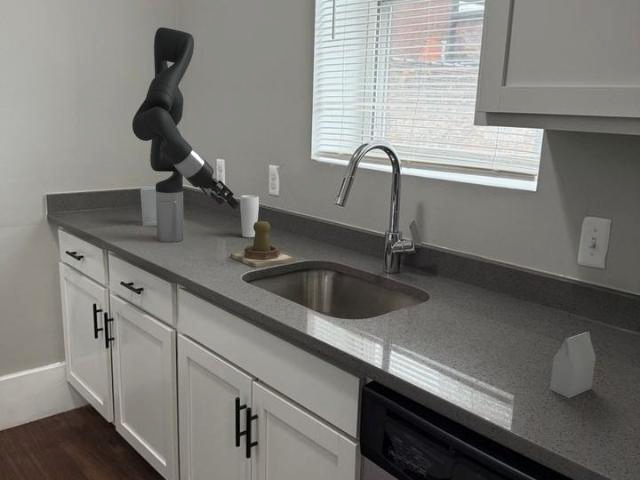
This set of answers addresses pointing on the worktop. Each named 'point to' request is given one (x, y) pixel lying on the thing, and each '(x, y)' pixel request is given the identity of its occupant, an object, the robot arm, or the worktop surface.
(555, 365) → the milk carton
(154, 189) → the skincare box
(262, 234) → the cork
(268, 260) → the board
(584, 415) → the worktop surface
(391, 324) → the worktop surface
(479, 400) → the worktop surface
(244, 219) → the drinking glass
